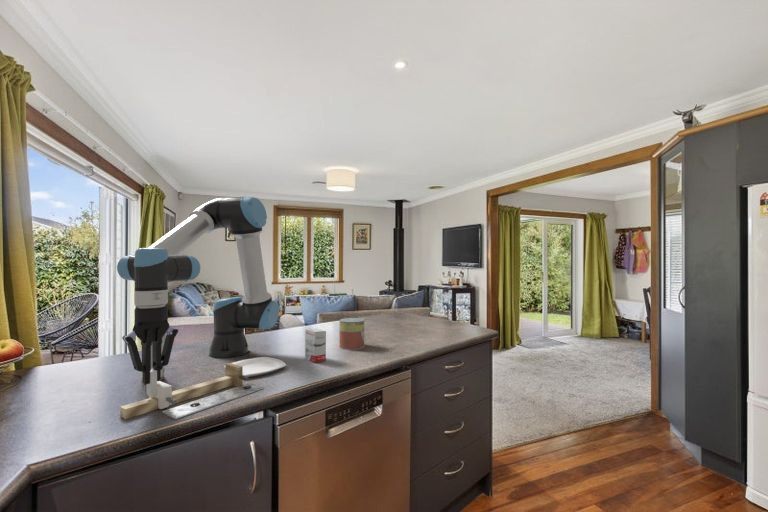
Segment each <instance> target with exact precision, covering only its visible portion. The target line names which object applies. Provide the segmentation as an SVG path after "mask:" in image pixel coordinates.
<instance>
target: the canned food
mask: <svg viewBox="0 0 768 512" xmlns="http://www.w3.org/2000/svg"><path fill="white" fill-rule="evenodd" d="M339 348H340V349H342V350H347V351H352V350H353V351H354V350H361V349H364V348H365V319H364V318H361V317H346V318H345V317H344V318H340V319H339Z"/></svg>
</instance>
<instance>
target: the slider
mask: <svg viewBox="0 0 768 512" xmlns="http://www.w3.org/2000/svg"><path fill="white" fill-rule="evenodd" d="M172 391H173V385H171V384H168V383H166V382H163V381H162V380H160V381H157V395H156V396H152V397H155V398H157V399H158V408H159V409H160V410H163V409H165V408H169V406H170V405H169V402H170V403H172V405H175V404H178V403H177V400H175V399H173V398H172ZM148 398H151V397H150V396H148ZM159 409H158V410H159Z"/></svg>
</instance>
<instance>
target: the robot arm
mask: <svg viewBox="0 0 768 512" xmlns="http://www.w3.org/2000/svg"><path fill="white" fill-rule="evenodd" d="M267 219H268V216H267V210H266V208H265V206H264V203H263V202H262V201H261V200H260V199H259V198H258V197H254V196H235V197H234V196H233V197H219V198H214V199H211V200H210V201H207V202H205V203H203V204H201V205H200V206H198V207H196V208H195V209H194V210H192V211H191V212H190V213H189V215H188V217H187V219H185V220H183V221H182V222H181V223H179V224H177V226H175V227H174V228H172V229H171V230H170V231H169V232H167V233H165V234H164V235H163V236H161V237H160V238H158V239H157V240H156V241H155V242H153V243H151V244H150V245H149V246H148V247H141V248H137V249H136V250H135V252H134V255H133V254H129V255H126V256H123V257H121V258H119V261H118V262H117V265H116V271H117V274H118V276H119V277H120V278H122V279H123V280H126V281H133V282H134V303H133V304H134V306H135V309H134V311H133V312H134V326H133V328H132V330H131V332H129V333H128V334H127V335H123V336H122V337H121V339H122V341H123V342H125V344H126V345H127V346H126V347H127V348H128V351H129V352H128V353H129V355H130V359H131V360H130V361H131V363H132V366H133V370H135V371H137V372H141V373H142V372H143V381H142V383H143V384H144V385H146V386H145V388H146V394H145V395H147V396H148V397H149V396H150V397H152V396H156V395H157V381H161V380H160V379H161V377H160V376H161V370H162V368H163V366H164V367H166V366H168V365H169V362H170V359H171V354H172V350H173V347H174V346H173V345H174V342H175V338H176V336H177V335H178V333H179V329H178V328H173V327H172V326H171V325H170V323H169V322H168V321H169V320H168V319H169V306H167V304H168V303H169V283H175V282H187V281H191V280H194V279H196V278H197V277H198V276H199V275H200V272H201V264H200V261H199V260H198V259H197V258H196V257H195V256H193V255H187V254H186V255H185V254H182V255H181V253H183V252H184V251H185V250H186V249H188V248H190V246H191V245H192V244H194V243H195V242H197V241H198V240H199V239H200V238H201V237H202V236H203V235H205V234H209V233H212V232H213V231H214V230H218V229H229V231H230V232H229V233H230V235H231V236H232V237H234V238H235V242H236V247H237V249H236V250H237V253H238V258H239V259H238V260H239V266H240V271H241V278H242V279H241V280H242V284H243V292H244V296H235V297H227V298H221V299H217V300H215V301H214V303H213V310H212V312H213V338H212V339H211V340H212V341H211V342H210V347H209V349H208V356H210V357H212V358H233V357H237V356H242V355H245V354H246V353H248V352H249V344H248V342H247V339H246V335H245V330H246V329H247V330H249V329H251V330H270V329H271V328H273V327H274V326H275V325H276V323H277V322H278V318H279V313H280V305H279V303H278V301H276V300H273V297H272V296H273V295H272V293H270V292H269V291H268V289H267V282H266V281H267V280H266V273H265V267H264V262H263V254H262V247H261V241H260V235H261V233H262V232H263V228H264V227H265V226H266V224H267ZM163 336H164V346H163V350H162V354H161V344H162V337H163ZM137 338H138V339H139V340H140V345H141V355H140V351H139V349H138V345H137V343H136V340H137ZM151 345H152V367H153V369H151Z"/></svg>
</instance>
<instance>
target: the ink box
mask: <svg viewBox="0 0 768 512" xmlns="http://www.w3.org/2000/svg"><path fill="white" fill-rule="evenodd" d="M304 332H305V333H304V335H305V336H304V339H305V340H304V341H305V342H304V359H305V360H308V361H310V362H312V363H314V364H316V363H322V362H326V361H327V358H326V357H327V349H326V348H327V345H326V344H327V331H326V330H323V329H320V328H317V327H316V328H315V327H314V328H313V327H312V328H305V330H304Z"/></svg>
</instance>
